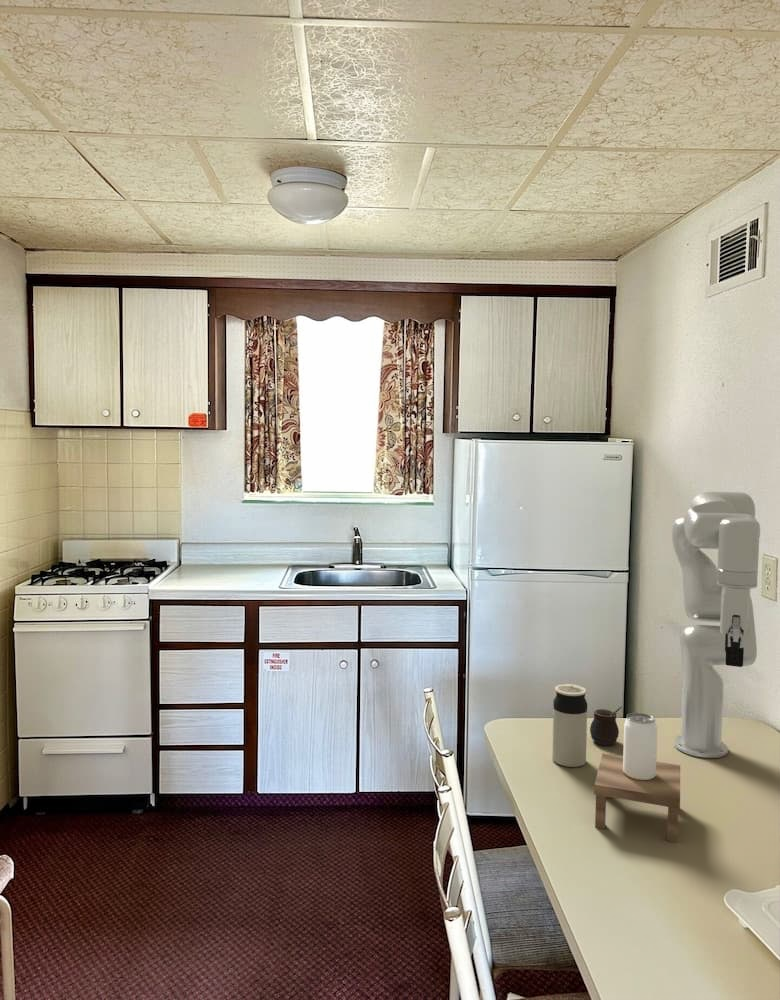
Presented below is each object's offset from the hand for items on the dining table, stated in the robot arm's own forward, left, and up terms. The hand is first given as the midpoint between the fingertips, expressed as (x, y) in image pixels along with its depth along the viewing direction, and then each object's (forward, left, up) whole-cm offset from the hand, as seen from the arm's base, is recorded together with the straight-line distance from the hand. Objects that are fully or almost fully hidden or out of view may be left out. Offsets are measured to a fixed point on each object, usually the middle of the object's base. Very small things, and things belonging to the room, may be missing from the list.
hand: (733, 658), depth 153 cm
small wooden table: (+10, -18, -33) cm, 38 cm away
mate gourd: (-27, -28, -33) cm, 50 cm away
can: (+10, -17, -24) cm, 31 cm away
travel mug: (-12, -35, -33) cm, 49 cm away
